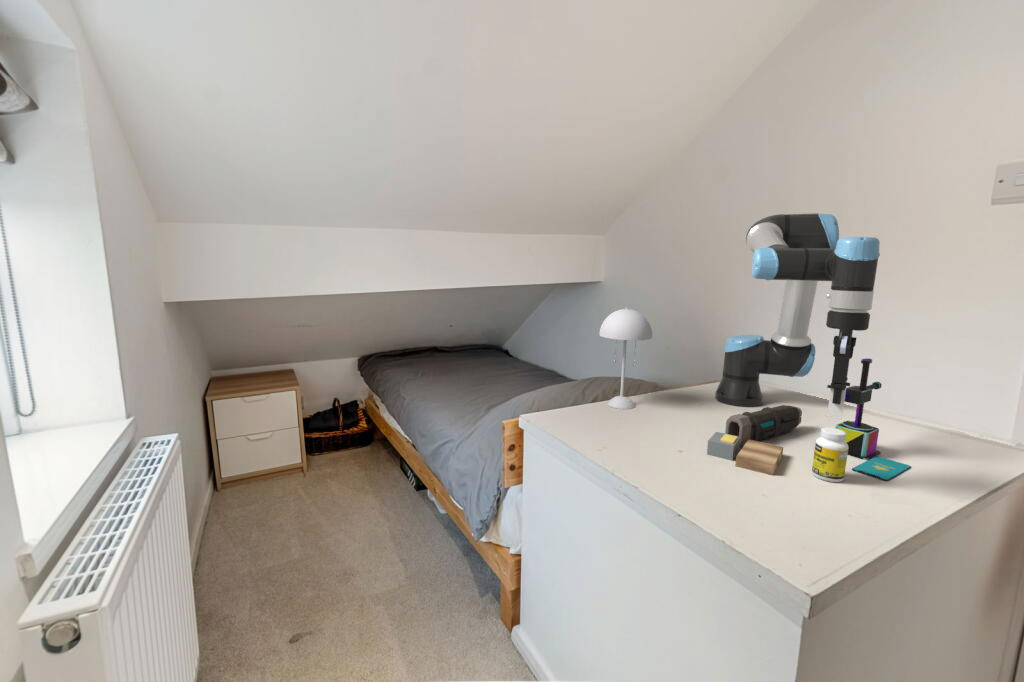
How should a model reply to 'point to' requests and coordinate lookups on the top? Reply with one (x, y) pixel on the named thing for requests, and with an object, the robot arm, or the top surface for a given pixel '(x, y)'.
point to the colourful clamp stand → (857, 433)
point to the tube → (763, 423)
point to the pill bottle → (830, 455)
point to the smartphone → (881, 468)
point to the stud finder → (723, 446)
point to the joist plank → (759, 456)
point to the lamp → (625, 342)
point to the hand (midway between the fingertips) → (834, 415)
